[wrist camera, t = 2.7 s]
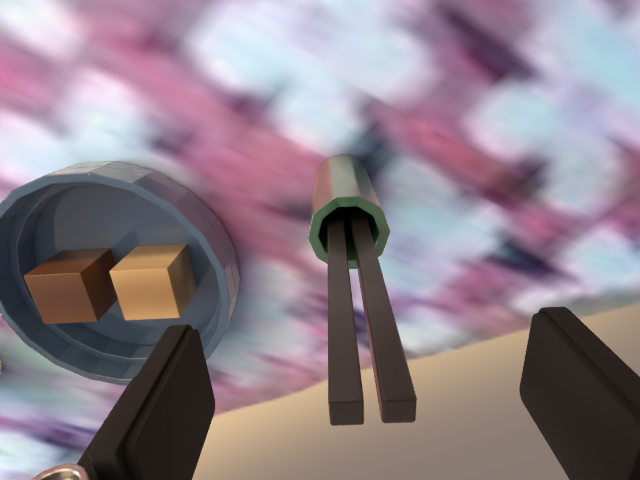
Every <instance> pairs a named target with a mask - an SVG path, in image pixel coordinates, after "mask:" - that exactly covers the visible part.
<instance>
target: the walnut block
mask: <svg viewBox="0 0 640 480" xmlns="http://www.w3.org/2000/svg"><path fill="white" fill-rule="evenodd" d="M115 266H116V264H115V261H114V257H113V254H112V251H111V248H106V249H88V250H70V251H60V252H59V253H57V254H56V255H54V256H53V257H51V258H50V259H48V260H47V261H45V262H44V263H42V264H41V265H39V266H38V267H36V268H35V269H33V270H32V271H30V272H29V273H27V274H26V275H24V279H25V281H26V283H27V286H28V288H29V290H30V292H31V295H32V297H33V299H34V302H35V304H36V306H37V309H38V311H39V313H40V315H41V318H42V320H43V322H44V324H56V323H77V322H97V321H99V320H100V318H101V317H102V316H103V315H104V314H105V313H106V312H107V311H108V310H109V309H110V308H111V307H112V305H113V304H114V303H115V302H116V301H117V300H118V297H117V294H116V291H115V288H114V285H113V281H112V278H111V275H110V272H109V271H110V270H111V269H112V268H113V267H115Z"/></svg>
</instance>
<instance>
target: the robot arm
mask: <svg viewBox="0 0 640 480" xmlns="http://www.w3.org/2000/svg"><path fill="white" fill-rule="evenodd" d="M520 396H521V399H522V401H523V403H524V405H525V407H526V408H527V410H528V411H529V413H530V415H531V417H532V418H533V420H534V422H535V423H536V425H537V426H538V428H539V430H540V431H541V433H542V435H543V436H544V438H545V440H546V441H547V443H548V445H549V446H550V448H551V450H552V451H553V453H554V455H555V456H556V458H557V459H558V461H559V463H560V464H561V466H562V468H563V469H564V471H565V473H566V474H567V476H568V478H569V479H570V480H640V377H639V376H638V375H637V374H636V373H635V372H634V371H633V370H632V369H631V368H630V367H628V366H627V365H626V364H625V363H624V362H623V361H622V360H621V359H620V358H619V357H618V356H617V355H616V354H615V353H614V352H613V351H612V350H611V349H610V348H609V347H607V346H606V345H605V344H604V343H603V342H602V341H601V340H600V339H599V338H598V337H597V336H596V335H594V333H593V332H592V331H591V330H590V329H589V328H588V327H587V326H585V325H584V324H583V323H582V322H581V321H580V320H579V319H578V318H577V317H576V316H575V315H574V314H573V313H572V312H571V311H570V310H569V309H567V308H566V307H548V308H541V309H540V310H539V312H538V313H536V314H534V315H533V317H532V322H531V328H530V333H529V340H528V345H527V350H526V355H525V361H524V367H523V372H522V378H521V383H520ZM214 411H215V398H214V394H213V390H212V386H211V381H210V377H209V373H208V368H207V364H206V360H205V356H204V351H203V347H202V343H201V338H200V334H199V331H198V330H197V329H193V328H192V326H191V325H189V324H188V325H170V326H168V328H167V329H166V330H165V332H164V334H163V335H162V337H161V338H160V340H159V341H158V343H157V344H156V346H155V348H154V349H153V351H152V352H151V354H150V355H149V357H148V359H147V360H146V362H145V363H144V365H143V366H142V368H141V370H140V371H139V373H138V374H137V375H136V376H134V378H133V379H132V380H131V381H130V383H129V384H128V386H127V387H126V389H125V390H124V392H123V394H122V395H121V397H120V398H119V400H118V401H117V403H116V404H115V406H114V407H113V409H112V411H111V412H110V414H109V415H108V417H107V418H106V420H105V421H104V423H103V424H102V426H101V427H100V429H99V431H98V432H97V434H96V435H95V437H94V438H93V440H92V441H91V443H90V444H89V446H88V448H87V449H86V451H85V452H84V454H83V455H82V457H81V458H80V460H79V461H78V463H77V464H64V465H59V466H55V467H53V468H51V469H48V470H46V471H44V472H42V473H40V474H39V475H37V476H36V477H34V478H33V479H31V480H192V477H193V474H194V471H195V469H196V466H197V463H198V459H199V456H200V454H201V450H202V447H203V445H204V442H205V439H206V436H207V433H208V430H209V427H210V424H211V420H212V418H213V415H214Z"/></svg>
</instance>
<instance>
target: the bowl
mask: <svg viewBox="0 0 640 480" xmlns="http://www.w3.org/2000/svg"><path fill="white" fill-rule="evenodd" d="M177 244H187V246H188V250H189V255H190V259H191V264H192V268H193V272H194V277H195V281H196V285H197V290H196V292H195V293H194V295H193V297H192V298H191V300H190V302H189V303H188V305H187V307H186V308H185V310H184V311H183V313H182V315H181V316H180V318H163V319H142V320H125V318H124V315H123V312H122V309H121V306H120V303H119V300H117V301H116V302H115V303H114V304H113V305H112V307H111V308H110V309H109V310H108V311H107V312H106V313H105V314H104V315H103V316H102V317H101V318H100V320H99V321H97V322H77V323H56V324H44V322H43V320H42V318H41V315H40V313H39V311H38V309H37V306H36V304H35V302H34V299H33V297H32V295H31V292H30V290H29V288H28V286H27V283H26V281H25V279H24V275H26V274H27V273H29V272H30V271H32V270H33V269H35V268H36V267H38V266H39V265H41V264H42V263H44V262H45V261H47V260H48V259H50V258H51V257H53V256H54V255H56V254H57V253H59V252H60V251H70V250H88V249H106V248H111V251H112V254H113V257H114V261H115V264H116V265H117V264H118V263H119V262H120V261H121V260H122V259H123V258H125V257H126V256H127V255H128V254H129V253H130V252H131V251H132V250H133V249H134V248H136V247H141V246H159V245H177ZM239 284H240V276H239V270H238V265H237V259H236V253H235V248H234V246H233V245H232V243H231V241H230V239H229V237H228V235H227V233H226V232H225V230H224V228H223V226H222V224H221V222H220V220H219V219H218V218H217V216H216V215H215V214H214V213H213V212H212V211H211V210H210V209H209V208H208V207H207V206H206V205H205V204H204V203H203V202H202V201H201V200H200V199H199V198H198V197H197V196H196V195H195V194H194V193H193V192H192V191H190V190H189V189H187V188H185V187H184V186H182V185H180V184H178V183H177V182H175V181H173V180H171V179H169V178H168V177H166V176H164V175H162V174H161V173H159V172H157V171H155V170H151V169H147V168H143V167H139V166H135V165H131V164H126V163H122V162H118V161H107V162H92V163H79V164H75V165H73V166H70V167H67V168H64V169H61V170H59V171H56V172H53V173H50V174H47V175H45V176H43V177H40V178H38V179H36V180H34V181H32V182H29V183H27V184H25V185H23V186H20V187H18V188H16V189H14V190H12V191H11V192H10V193H9V194H8V195H7V196H6V198H5V199H4V200H3V201H2V202H1V203H0V316H1V317H2V318H3V319H4V320H5V321H6V322H7V323H8V325H9V326H10V327H11V328H12V329H13V330H14V331H15V333H16V334H17V335H18V336H19V337H20V338H21V339H22V341H23V342H25V343H26V344H27V345H28V346H30V347H31V348H33V349H34V350H35V351H37V352H38V353H40V354H41V355H42V356H44V357H45V358H47V359H48V360H49V361H51V362H52V363H55V365H58V366H60V367H62V368H65V369H67V370H69V371H72V372H74V373H76V374H79V375H81V376H83V377H86V378H88V379H92V380H97V381H102V382H108V383H113V384H118V385H128V384H129V383H130V381H131V380H132V379H133V378H134V376H136V375H137V374H138V373H139V371H140V370H141V368H142V366H143V365H144V363H145V362H146V360H147V359H148V357H149V355H150V354H151V352H152V351H153V349H154V348H155V346H156V344H157V343H158V341H159V340H160V338H161V337H162V335H163V334H164V332H165V330H166V329H167V328H168V326H170V325H188V324H189V325H191V326H192V328H193V329H197V330H198V331H199V334H200V338H201V343H202V347H203V351H204V356H205V360H206V359H207V358H209V357H210V355H211V354H212V352H213V351H214V349H215V348H216V346H217V345H218V343H219V342H220V340H221V338H222V337H223V335H224V334H225V331H226V329H227V326H228V324H229V321H230V319H231V316H232V314H233V311H234V309H235V305H236V300H237V294H238V289H239Z"/></svg>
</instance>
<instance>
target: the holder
mask: <svg viewBox="0 0 640 480" xmlns="http://www.w3.org/2000/svg"><path fill="white" fill-rule="evenodd" d="M351 206H358V207H360V208H361V209H363V210H364V211H365V213H366V217H367V221H368V224H369V228H370V232H371V235H372V239H373V242H374V246H375V250H376V253H377V257H379V256H380V255H381V254H382V253H383V251H384V248H385V245H386V242H387V239H388V236H389V234H390V230H389V227H388V224H387V222H386V219H385V216H384V213H383V210H382V208H381V205H380V203H379V200H378V198H377V196H376V193H375V191H374V188H373V186H372V183H371V181H370V178H369V176H368V173H367V171H366V169H365V166H364V165H363V164H362V163H361V162H360V161H358V160H357V159H356V158H354V157H351V156H348V155H336V156H332V157H330V158H328V159H327V160H325V161H324V162H323V163H322V164H321V165H320V167H319V168H318V169H317V173H316V177H315V181H314V187H313V196H312V204H311V213H310V221H309V230H308V239H309V241H310V243H311V245H312V247H313V250H314V252H315V254H316V256H317V257H318V259H320V260H322V261H324V262H325V263H327V264H328V214H330V213H331V212H332V211H334V210H335V209H336V208H337V207H342V213H343V222H344V231H345V239H346V248H347V257H348V266H349V269H357V262H356V256H355V249H354V243H353V237H352V230H351V224H350V218H349V211H348V207H351Z"/></svg>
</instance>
